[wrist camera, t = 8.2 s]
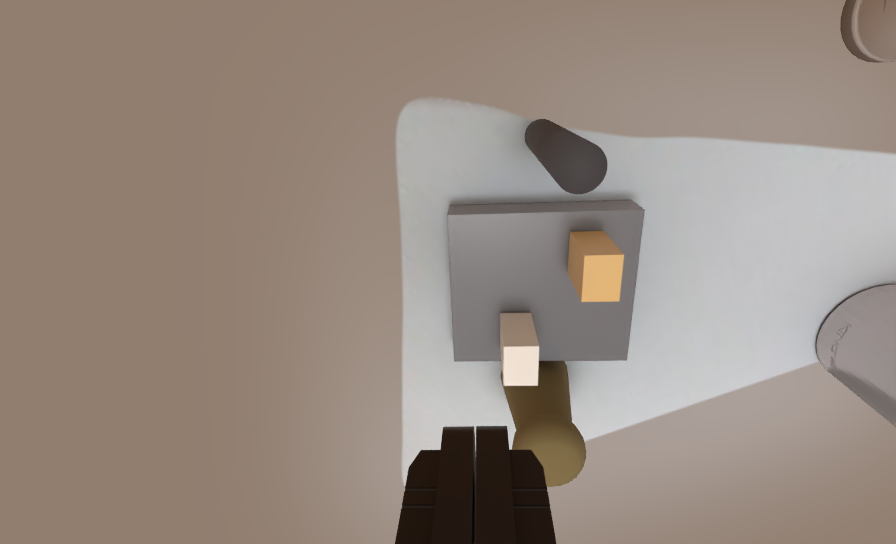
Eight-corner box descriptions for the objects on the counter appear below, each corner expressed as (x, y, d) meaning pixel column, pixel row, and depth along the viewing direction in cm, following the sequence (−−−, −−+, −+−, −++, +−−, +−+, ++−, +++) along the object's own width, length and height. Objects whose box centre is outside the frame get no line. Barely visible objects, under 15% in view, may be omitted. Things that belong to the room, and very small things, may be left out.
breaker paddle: (603, 230, 33) (624, 254, 29) (600, 272, 34) (619, 301, 30) (569, 231, 33) (584, 255, 29) (567, 272, 35) (581, 302, 30)
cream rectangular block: (531, 312, 36) (539, 346, 31) (530, 348, 37) (537, 385, 33) (500, 313, 36) (503, 346, 32) (500, 348, 37) (503, 385, 33)
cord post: (558, 118, 34) (609, 140, 21) (557, 152, 35) (604, 193, 22) (525, 119, 34) (555, 142, 21) (524, 153, 35) (552, 194, 22)
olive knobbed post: (556, 338, 41) (583, 423, 30) (575, 392, 43) (606, 489, 32) (491, 358, 42) (496, 446, 32) (513, 409, 44) (524, 508, 34)
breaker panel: (631, 199, 36) (644, 209, 33) (616, 341, 40) (626, 360, 38) (449, 205, 37) (447, 215, 34) (455, 342, 41) (454, 361, 39)
